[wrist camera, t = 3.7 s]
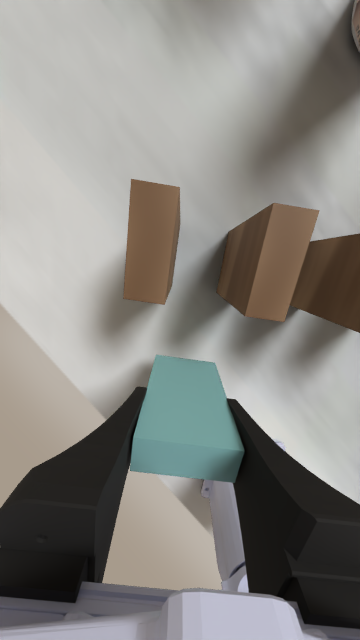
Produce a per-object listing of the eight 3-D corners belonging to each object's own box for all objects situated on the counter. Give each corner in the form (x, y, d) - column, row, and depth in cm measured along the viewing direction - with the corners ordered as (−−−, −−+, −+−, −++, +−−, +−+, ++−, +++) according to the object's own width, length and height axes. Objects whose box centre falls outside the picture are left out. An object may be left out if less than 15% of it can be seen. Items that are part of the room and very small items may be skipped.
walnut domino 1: (180, 224, 16) (179, 187, 8) (171, 285, 17) (164, 304, 9) (155, 220, 16) (131, 178, 8) (149, 282, 17) (123, 298, 9)
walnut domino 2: (252, 235, 16) (319, 210, 8) (238, 295, 17) (284, 321, 10) (228, 231, 16) (273, 202, 8) (216, 292, 17) (245, 316, 10)
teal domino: (210, 383, 17) (234, 482, 9) (153, 375, 17) (129, 470, 9) (214, 362, 16) (244, 450, 9) (156, 354, 16) (133, 437, 8)
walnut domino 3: (322, 247, 16) (451, 233, 8) (303, 305, 18) (398, 338, 10) (299, 243, 16) (408, 225, 8) (281, 302, 17) (360, 333, 10)
